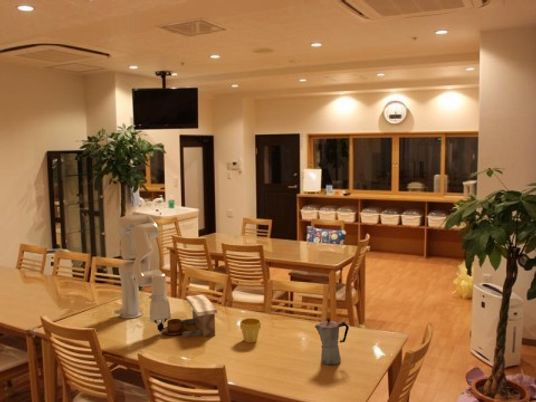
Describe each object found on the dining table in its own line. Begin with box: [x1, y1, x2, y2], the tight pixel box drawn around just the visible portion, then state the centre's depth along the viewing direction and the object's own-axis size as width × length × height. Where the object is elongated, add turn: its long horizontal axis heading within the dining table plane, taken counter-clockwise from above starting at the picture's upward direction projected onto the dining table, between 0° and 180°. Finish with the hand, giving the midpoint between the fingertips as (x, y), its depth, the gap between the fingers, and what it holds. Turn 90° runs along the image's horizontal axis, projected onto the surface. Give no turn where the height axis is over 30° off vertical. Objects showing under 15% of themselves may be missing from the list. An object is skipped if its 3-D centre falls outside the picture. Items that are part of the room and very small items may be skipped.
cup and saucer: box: [162, 318, 187, 336], centre depth 265 cm, size 12×12×6 cm
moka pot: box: [314, 318, 350, 366], centre depth 227 cm, size 10×15×20 cm, turn 95°
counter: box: [180, 294, 218, 338], centre depth 269 cm, size 17×28×14 cm, turn 21°
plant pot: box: [239, 317, 262, 344], centre depth 253 cm, size 10×10×10 cm
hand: (160, 331), depth 263 cm, fingers closed
